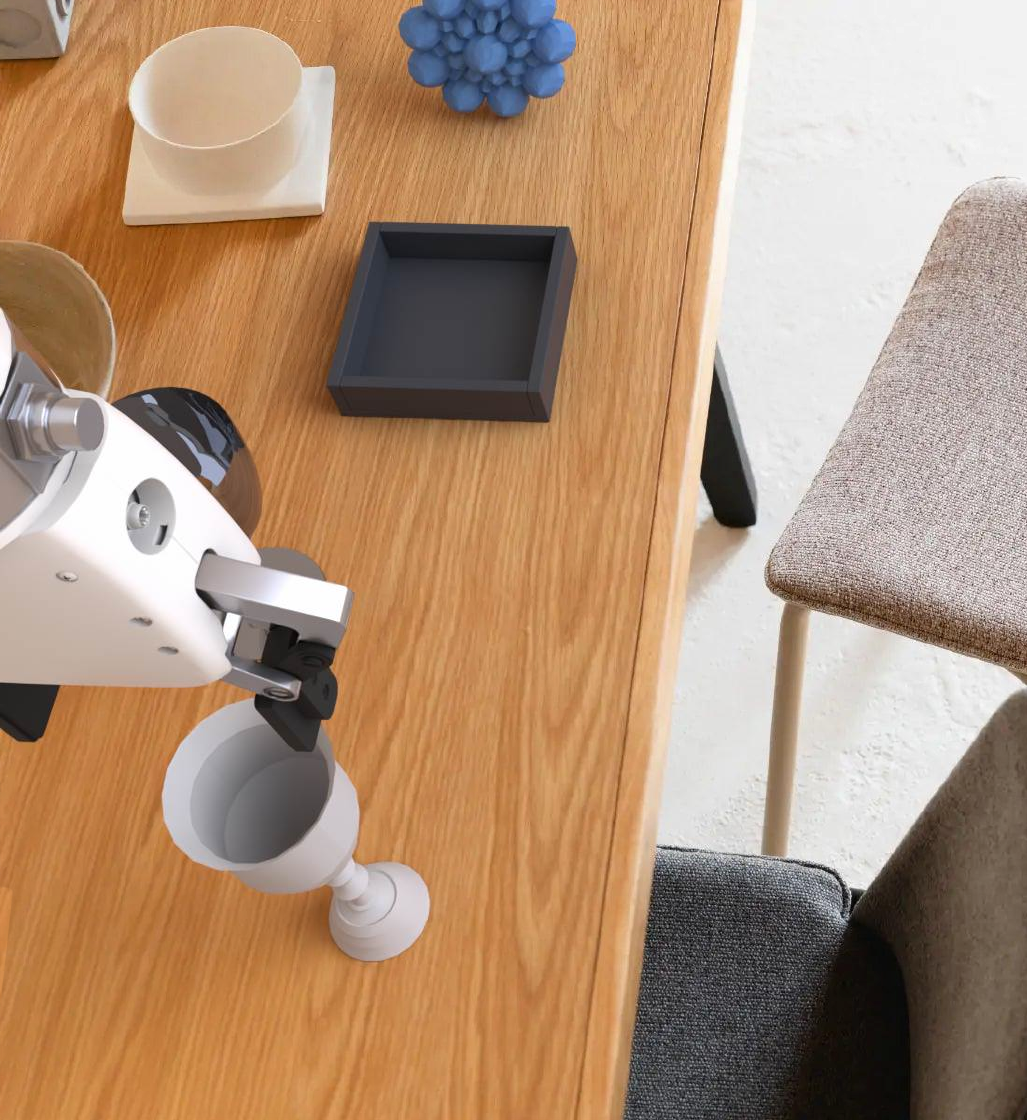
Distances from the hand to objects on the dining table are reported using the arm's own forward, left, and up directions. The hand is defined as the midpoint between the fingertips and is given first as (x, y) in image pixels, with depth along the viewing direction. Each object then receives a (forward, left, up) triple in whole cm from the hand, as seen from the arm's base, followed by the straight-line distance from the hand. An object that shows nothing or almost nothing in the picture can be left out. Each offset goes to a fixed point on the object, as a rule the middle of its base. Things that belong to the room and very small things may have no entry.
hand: (179, 707), depth 53 cm
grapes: (-3, +56, -26) cm, 62 cm away
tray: (-2, +36, -26) cm, 44 cm away
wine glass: (-10, +17, -26) cm, 32 cm away
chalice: (0, 0, -26) cm, 26 cm away
